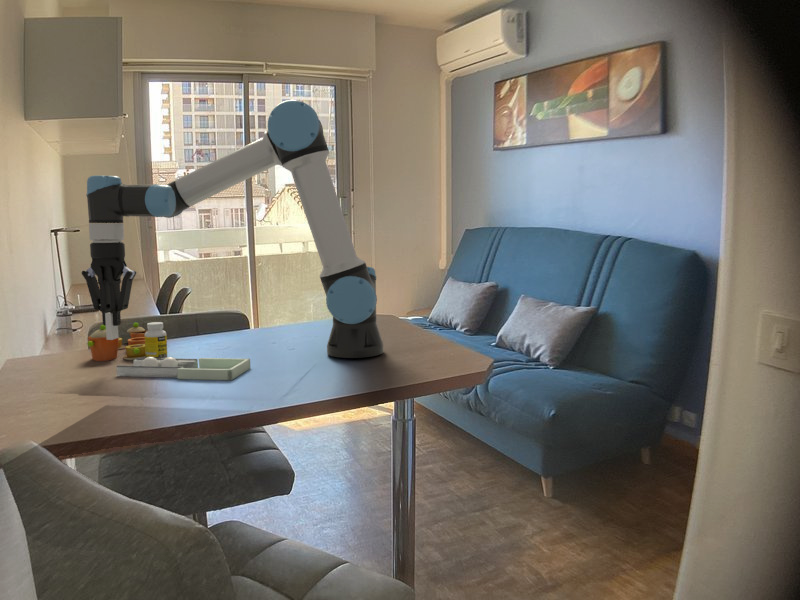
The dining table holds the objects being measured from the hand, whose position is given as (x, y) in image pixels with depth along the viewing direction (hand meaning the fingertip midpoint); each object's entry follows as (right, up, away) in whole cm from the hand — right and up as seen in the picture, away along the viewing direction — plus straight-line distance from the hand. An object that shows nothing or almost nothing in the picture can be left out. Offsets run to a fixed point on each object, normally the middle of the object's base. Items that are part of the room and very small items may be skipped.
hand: (112, 338), depth 154 cm
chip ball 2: (+14, -8, -1) cm, 16 cm away
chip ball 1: (+9, -8, 0) cm, 12 cm away
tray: (+26, -8, -2) cm, 27 cm away
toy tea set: (-7, -6, +24) cm, 25 cm away
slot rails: (+11, -8, 0) cm, 14 cm away
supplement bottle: (+5, -7, +14) cm, 17 cm away
